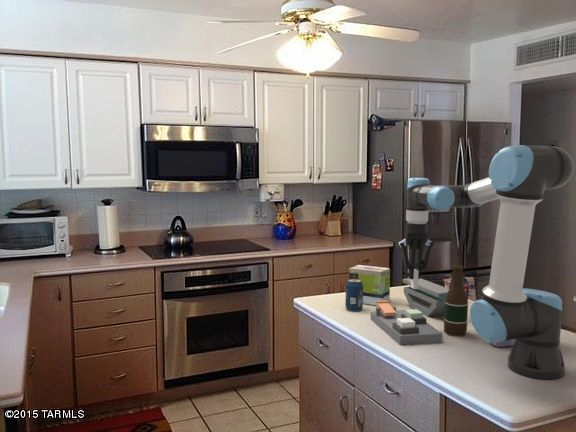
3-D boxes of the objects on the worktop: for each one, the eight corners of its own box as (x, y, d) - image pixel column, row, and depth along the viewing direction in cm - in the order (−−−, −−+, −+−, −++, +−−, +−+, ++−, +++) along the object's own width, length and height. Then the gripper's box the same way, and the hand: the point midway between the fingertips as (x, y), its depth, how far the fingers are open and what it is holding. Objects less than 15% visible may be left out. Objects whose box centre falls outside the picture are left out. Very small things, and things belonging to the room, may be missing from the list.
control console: (442, 342, 177) (443, 325, 177) (400, 344, 174) (400, 327, 174) (407, 317, 205) (408, 302, 204) (370, 319, 202) (370, 304, 201)
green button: (422, 318, 188) (422, 313, 188) (410, 319, 187) (410, 313, 187) (416, 314, 192) (417, 309, 192) (405, 315, 192) (405, 310, 191)
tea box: (390, 301, 227) (391, 267, 225) (381, 307, 219) (381, 271, 217) (357, 296, 235) (358, 263, 233) (347, 301, 226) (348, 267, 225)
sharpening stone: (401, 304, 223) (402, 278, 222) (418, 302, 226) (418, 277, 224) (437, 321, 200) (438, 293, 198) (455, 319, 202) (456, 291, 201)
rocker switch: (395, 315, 194) (396, 311, 193) (384, 316, 193) (384, 311, 192) (386, 304, 202) (387, 299, 201) (375, 304, 201) (376, 300, 200)
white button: (414, 327, 178) (415, 321, 178) (402, 328, 177) (402, 322, 177) (409, 323, 182) (409, 317, 182) (396, 324, 181) (396, 318, 181)
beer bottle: (468, 337, 182) (471, 268, 180) (444, 335, 184) (447, 267, 181) (465, 330, 190) (468, 264, 187) (442, 328, 191) (445, 263, 189)
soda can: (346, 306, 219) (347, 277, 218) (363, 307, 217) (364, 279, 216) (343, 311, 213) (344, 281, 211) (361, 312, 211) (361, 282, 209)
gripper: (429, 220, 191) (426, 284, 194) (395, 221, 188) (392, 286, 191) (439, 223, 184) (436, 289, 187) (403, 223, 181) (401, 291, 184)
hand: (414, 287), depth 189 cm, fingers closed
